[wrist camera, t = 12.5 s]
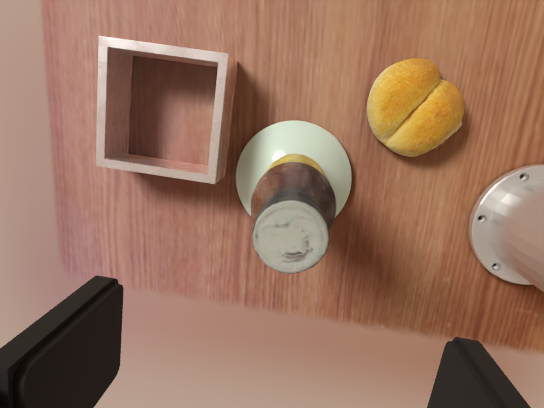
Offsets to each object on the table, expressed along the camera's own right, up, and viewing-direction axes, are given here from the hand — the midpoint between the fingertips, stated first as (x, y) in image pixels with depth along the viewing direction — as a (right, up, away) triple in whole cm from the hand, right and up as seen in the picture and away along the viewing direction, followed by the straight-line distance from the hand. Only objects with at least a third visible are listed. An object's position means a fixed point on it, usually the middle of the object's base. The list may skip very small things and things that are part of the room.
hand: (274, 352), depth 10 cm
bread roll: (+14, +14, +26) cm, 33 cm away
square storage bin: (-10, +14, +28) cm, 33 cm away
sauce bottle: (+2, +7, +28) cm, 29 cm away
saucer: (+2, +7, +29) cm, 30 cm away
